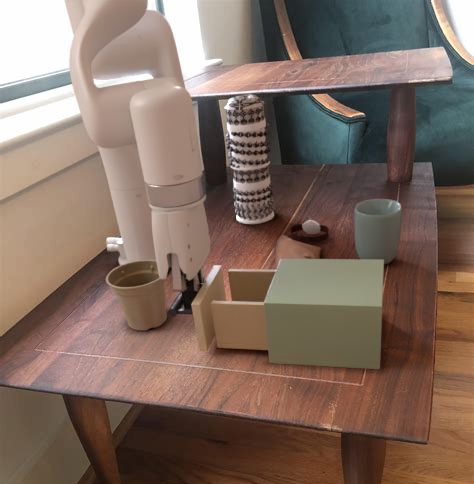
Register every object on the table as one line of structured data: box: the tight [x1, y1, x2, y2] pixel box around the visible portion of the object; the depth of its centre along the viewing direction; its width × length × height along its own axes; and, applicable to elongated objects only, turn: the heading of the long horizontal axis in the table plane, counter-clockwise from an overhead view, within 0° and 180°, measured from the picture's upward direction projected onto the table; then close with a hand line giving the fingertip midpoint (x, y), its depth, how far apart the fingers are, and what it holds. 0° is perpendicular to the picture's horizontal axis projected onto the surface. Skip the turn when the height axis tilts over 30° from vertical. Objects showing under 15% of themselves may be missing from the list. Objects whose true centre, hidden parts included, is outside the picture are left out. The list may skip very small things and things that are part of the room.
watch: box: [289, 219, 330, 244], centre depth 106 cm, size 8×5×4 cm, turn 68°
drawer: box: [167, 264, 276, 353], centre depth 79 cm, size 18×11×8 cm, turn 76°
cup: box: [353, 198, 403, 266], centre depth 94 cm, size 8×8×10 cm
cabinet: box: [264, 258, 385, 370], centre depth 75 cm, size 15×13×10 cm
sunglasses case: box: [273, 234, 322, 270], centre depth 95 cm, size 18×7×7 cm
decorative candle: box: [223, 94, 275, 225], centre depth 114 cm, size 9×9×25 cm
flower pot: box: [105, 260, 168, 331], centre depth 85 cm, size 9×9×9 cm
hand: (196, 310), depth 80 cm, fingers closed
